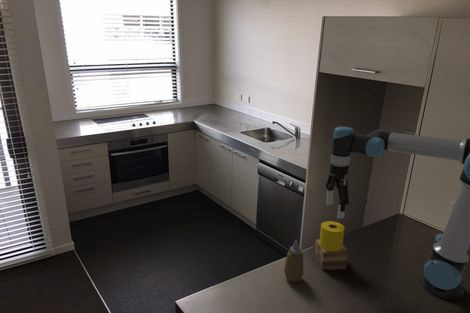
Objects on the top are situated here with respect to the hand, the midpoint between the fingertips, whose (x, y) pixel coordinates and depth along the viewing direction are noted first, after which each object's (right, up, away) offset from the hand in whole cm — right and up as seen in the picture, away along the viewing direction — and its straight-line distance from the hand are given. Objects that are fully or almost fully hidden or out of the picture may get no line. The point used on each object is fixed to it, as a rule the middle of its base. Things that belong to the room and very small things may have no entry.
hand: (334, 210), depth 156 cm
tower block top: (0, -21, +7) cm, 22 cm away
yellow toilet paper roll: (0, -17, +6) cm, 17 cm away
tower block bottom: (0, -25, +8) cm, 26 cm away
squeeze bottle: (-19, -28, -4) cm, 34 cm away
